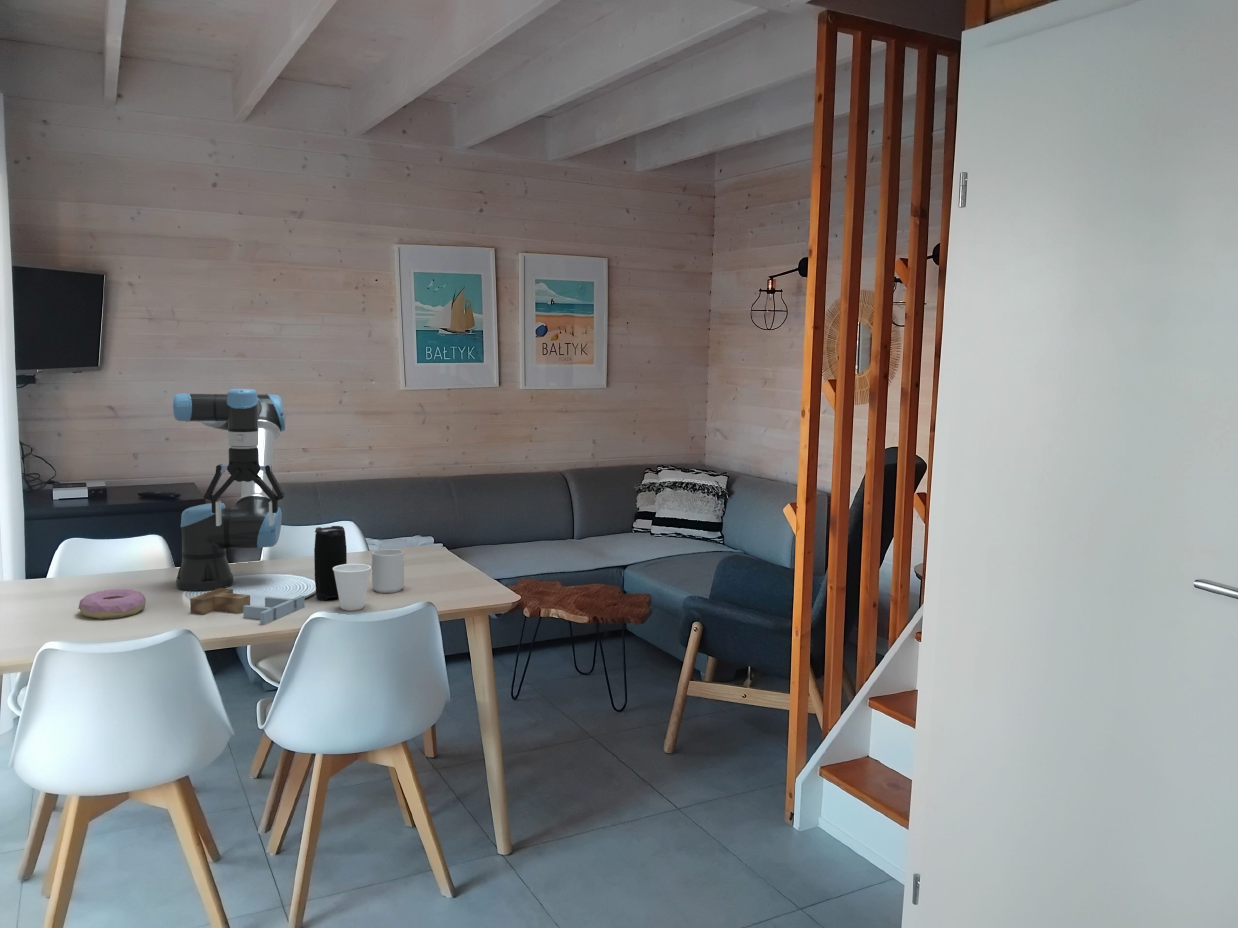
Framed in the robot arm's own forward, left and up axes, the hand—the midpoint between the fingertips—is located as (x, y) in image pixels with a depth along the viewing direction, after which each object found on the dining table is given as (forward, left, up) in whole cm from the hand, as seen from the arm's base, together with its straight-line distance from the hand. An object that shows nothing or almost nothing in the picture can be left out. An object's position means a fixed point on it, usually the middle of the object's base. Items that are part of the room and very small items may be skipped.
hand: (245, 525), depth 258 cm
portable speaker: (+20, +10, -21) cm, 30 cm away
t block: (+1, -10, -21) cm, 23 cm away
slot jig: (+14, -10, -21) cm, 27 cm away
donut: (-24, -21, -21) cm, 39 cm away
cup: (+31, +2, -21) cm, 37 cm away
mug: (+30, +24, -21) cm, 44 cm away
